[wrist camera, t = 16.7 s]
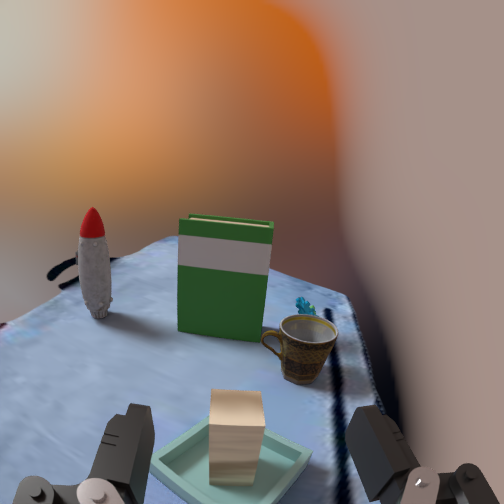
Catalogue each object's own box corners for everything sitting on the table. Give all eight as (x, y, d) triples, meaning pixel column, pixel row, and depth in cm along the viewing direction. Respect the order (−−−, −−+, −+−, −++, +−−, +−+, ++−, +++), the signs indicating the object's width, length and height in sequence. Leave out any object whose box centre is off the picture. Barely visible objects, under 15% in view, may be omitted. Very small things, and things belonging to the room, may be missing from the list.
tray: (242, 539, 20) (245, 530, 19) (150, 472, 27) (146, 458, 27) (307, 465, 31) (313, 451, 30) (222, 420, 39) (223, 404, 38)
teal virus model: (322, 338, 61) (296, 300, 63) (299, 351, 63) (274, 314, 64) (328, 323, 72) (305, 290, 73) (308, 335, 73) (286, 302, 75)
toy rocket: (87, 306, 66) (81, 204, 59) (117, 308, 67) (113, 204, 61) (78, 320, 59) (68, 209, 52) (110, 323, 60) (103, 210, 54)
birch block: (252, 486, 27) (265, 425, 24) (209, 484, 26) (209, 423, 23) (250, 455, 32) (260, 391, 29) (210, 454, 31) (211, 388, 28)
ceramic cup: (316, 357, 57) (325, 313, 54) (333, 388, 48) (347, 341, 45) (252, 359, 55) (257, 313, 52) (261, 394, 45) (268, 344, 43)
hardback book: (177, 330, 62) (179, 219, 56) (186, 315, 69) (190, 213, 63) (259, 342, 61) (273, 228, 55) (261, 325, 68) (273, 221, 62)
